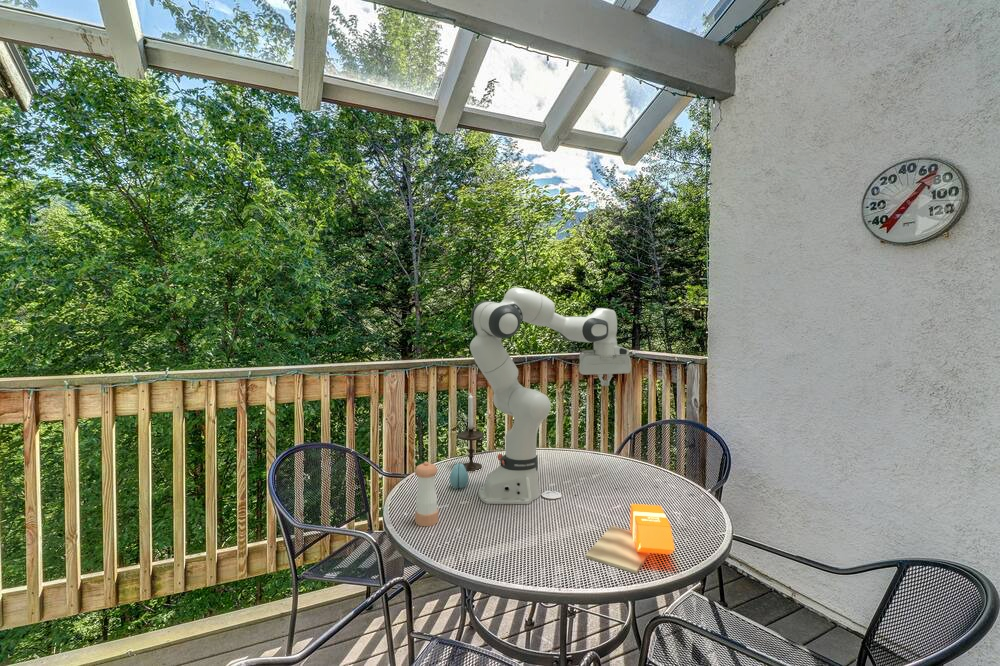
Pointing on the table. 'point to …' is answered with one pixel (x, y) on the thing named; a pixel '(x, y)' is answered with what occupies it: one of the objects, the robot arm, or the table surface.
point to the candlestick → (471, 437)
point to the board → (618, 550)
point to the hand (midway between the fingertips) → (604, 385)
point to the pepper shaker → (426, 495)
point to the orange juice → (651, 529)
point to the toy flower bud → (459, 476)
